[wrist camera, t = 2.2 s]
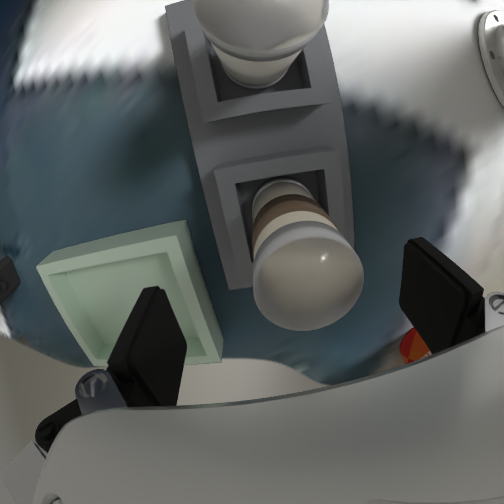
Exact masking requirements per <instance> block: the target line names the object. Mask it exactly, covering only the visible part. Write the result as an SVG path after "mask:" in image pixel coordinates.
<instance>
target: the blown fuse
mask: <svg viewBox="0 0 504 504" xmlns="http://www.w3.org/2000/svg"><path fill="white" fill-rule="evenodd" d="M252 218H253V228H252V244H253V262H254V263H253V293H254V299H255V302H256V305H257V307H258V309H259V310H260V312H261V313H262V314H263V315H264V316H265V317H266V318H267V319H268V320H269V321H271V322H272V323H274V324H275V325H278V326H280V327H282V328H286V329H290V330H297V331H308V330H315V329H319V328H322V327H325V326H328V325H330V324H332V323H334V322H336V321H337V320H339V319H340V318H342V317H343V316H344V315H345V314H346V313H348V312H349V311H350V309H351V308H352V307H353V306H354V304H355V303H356V302H357V300H358V298H359V296H360V294H361V291H362V288H363V282H364V271H363V266H362V264H361V261H360V259H359V257H358V255H357V254H356V253H355V251H354V250H353V248H352V247H351V246H350V244H349V243H348V241H347V240H346V239H345V237H344V236H343V235H342V234H341V233H340V231H339V230H338V228H337V227H336V225H335V224H334V223H333V221H332V220H331V219H330V217H329V216H328V215H327V213H326V212H325V211H324V209H323V208H322V207H321V206H320V205H319V204H318V203H317V202H316V201H315V199H314V198H313V196H312V195H311V193H310V192H309V190H308V189H307V188H306V187H305V186H304V185H303V184H302V183H301V182H300V181H298V180H296V179H294V178H291V177H287V176H278V177H273V178H271V179H268V180H267V181H265V182H264V183H262V184H261V185H260V186H259V187H258V189H257V190H256V192H255V194H254V196H253V200H252Z"/></svg>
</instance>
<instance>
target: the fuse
mask: <svg viewBox="0 0 504 504" xmlns="http://www.w3.org/2000/svg"><path fill="white" fill-rule="evenodd" d="M192 7H193V12H194V15H195V17H196V19H197V21H198V23H199V25H200V27H201V29H202V30H203V32H204V34H205V35H206V37H207V38H208V40H209V41H210V42H211V44H212V46H213V48H214V50H215V52H216V54H217V56H218V58H219V59H220V61H221V64H222V67H223V69H224V71H225V73H226V75H227V76H228V78H229V79H230V80H231V81H232V82H233V83H235V84H236V85H238V86H240V87H242V88H246V89H250V90H261V89H266V88H269V87H271V86H273V85H275V84H276V83H278V82H279V81H280V80H281V79H282V78H283V76H284V75H285V73H286V72H287V70H288V68H289V67H290V65H291V64H292V62H293V61H294V60H295V58H296V57H297V56H298V54H299V53H300V52H301V50H302V49H303V48H304V47H305V46H306V45H307V44H308V43H309V42H310V41H311V40H312V39H313V37H314V36H315V35H316V34H317V33H318V31H319V30H320V29H321V27H322V26H323V24H324V22H325V21H326V18H327V15H328V10H329V0H192Z"/></svg>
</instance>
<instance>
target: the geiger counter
mask: <svg viewBox="0 0 504 504" xmlns="http://www.w3.org/2000/svg"><path fill="white" fill-rule="evenodd" d="M19 284H20V280H19V277H18V275H17V272H16V270H15V267H14V265H13V262H12V260H11V258H10V257H9V256H6V257H5V258H3V259H2V260H1V261H0V304H1V303H2V302H3V301H4V300H5V299H6V298H7V297H8V296H9V295H10V294H11V293H12V292H13V291H14V290H15V289H16V288H17V287H18V286H19Z"/></svg>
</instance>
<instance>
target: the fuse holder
mask: <svg viewBox="0 0 504 504" xmlns="http://www.w3.org/2000/svg"><path fill="white" fill-rule="evenodd" d="M165 9H166V15H167V21H168V27H169V32H170V38H171V43H172V49H173V54H174V59H175V64H176V69H177V74H178V79H179V84H180V89H181V94H182V99H183V104H184V108H185V113H186V118H187V122H188V127H189V131H190V136H191V140H192V145H193V149H194V153H195V158H196V162H197V166H198V171H199V175H200V179H201V183H202V187H203V191H204V196H205V200H206V204H207V208H208V212H209V216H210V220H211V224H212V228H213V232H214V235H215V239H216V243H217V247H218V251H219V255H220V258H221V262H222V266H223V270H224V273H225V277H226V281H227V284H228V288H229V290H235V289H242V288H248V287H253V263H254V262H253V244H252V228H253V218H252V200H253V196H254V194H255V192H256V190H257V189H258V187H259V186H260V185H261V184H262V183H264V182H265V181H267V180H268V179H271V178H273V177H278V176H287V177H291V178H294V179H296V180H298V181H300V182H301V183H302V184H303V185H304V186H305V187H306V188H307V189H308V190H309V192H310V193H311V195H312V196H313V198H314V199H315V201H316V202H317V203H318V204H319V205H320V206H321V207H322V208H323V209H324V211H325V212H326V213H327V215H328V216H329V217H330V219H331V220H332V221H333V223H334V224H335V225H336V227H337V228H338V230H339V231H340V233H341V234H342V235H343V236H344V237H345V239H346V240H347V241H348V243H349V244H350V246H351V247H352V248H353V250H354V222H353V204H352V189H351V177H350V167H349V157H348V148H347V140H346V132H345V125H344V118H343V112H342V105H341V99H340V94H339V88H338V83H337V78H336V73H335V68H334V63H333V58H332V54H331V49H330V45H329V41H328V37H327V33H326V29H325V25H324V24H323V26H322V27H321V29H320V30H319V31H318V33H317V34H316V35H315V36H314V37H313V39H312V40H311V41H310V42H309V43H308V44H307V45H306V46H305V47H304V48H303V49H302V50H301V52H300V53H299V54H298V56H297V57H296V58H295V60H294V61H293V62H292V64H291V65H290V67H289V68H288V70H287V72H286V73H285V75H284V76H283V78H282V79H281V80H280V81H279V82H278V83H276V84H275V85H273V86H271V87H269V88H266V89H261V90H250V89H246V88H242V87H240V86H238V85H236V84H235V83H233V82H232V81H231V80H230V79H229V78H228V76H227V75H226V73H225V71H224V69H223V67H222V64H221V61H220V59H219V58H218V56H217V54H216V52H215V50H214V48H213V46H212V44H211V42H210V41H209V40H208V38H207V37H206V35H205V34H204V32H203V30H202V29H201V27H200V25H199V23H198V21H197V19H196V17H195V15H194V12H193V7H192V0H184V1H180V2H177V3H173V4H170V5H167V6H165Z"/></svg>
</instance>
